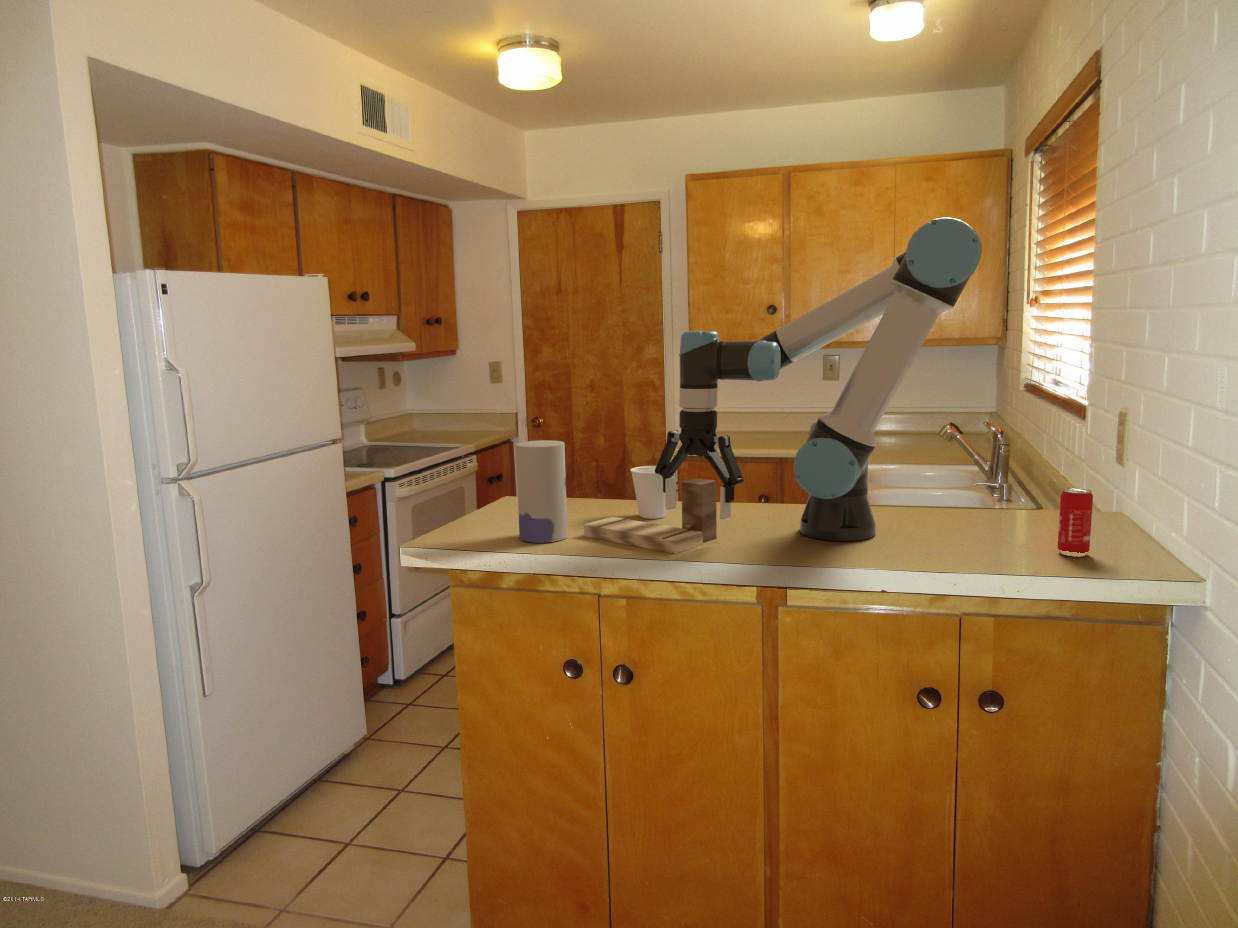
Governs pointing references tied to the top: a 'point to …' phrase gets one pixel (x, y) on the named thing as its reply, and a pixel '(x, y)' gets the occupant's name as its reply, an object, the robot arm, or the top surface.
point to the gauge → (700, 507)
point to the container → (541, 491)
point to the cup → (649, 492)
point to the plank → (644, 534)
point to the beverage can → (1075, 520)
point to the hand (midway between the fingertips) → (697, 513)
